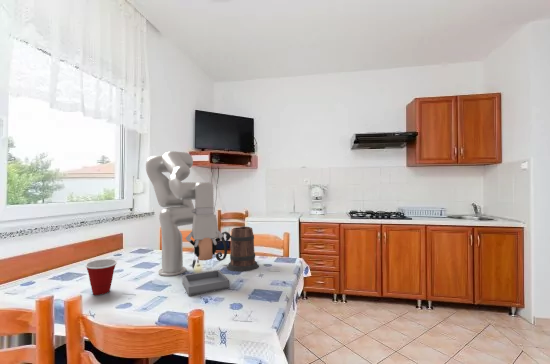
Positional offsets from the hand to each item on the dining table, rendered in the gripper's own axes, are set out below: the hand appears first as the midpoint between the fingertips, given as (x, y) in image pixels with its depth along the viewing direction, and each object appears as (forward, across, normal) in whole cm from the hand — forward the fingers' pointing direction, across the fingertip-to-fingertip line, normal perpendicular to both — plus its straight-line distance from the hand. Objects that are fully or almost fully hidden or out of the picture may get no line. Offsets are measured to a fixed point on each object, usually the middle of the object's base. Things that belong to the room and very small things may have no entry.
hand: (205, 254), depth 115 cm
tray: (+13, 0, 0) cm, 13 cm away
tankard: (+13, +21, +21) cm, 33 cm away
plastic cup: (+13, -38, +13) cm, 43 cm away
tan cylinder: (+2, 0, 0) cm, 2 cm away
